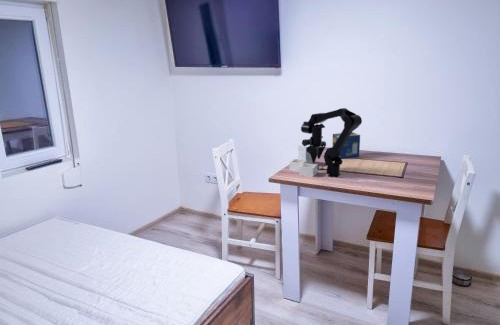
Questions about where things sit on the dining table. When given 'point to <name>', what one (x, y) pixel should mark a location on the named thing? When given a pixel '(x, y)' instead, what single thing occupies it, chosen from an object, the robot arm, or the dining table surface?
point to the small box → (304, 154)
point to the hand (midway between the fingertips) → (316, 160)
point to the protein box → (349, 146)
